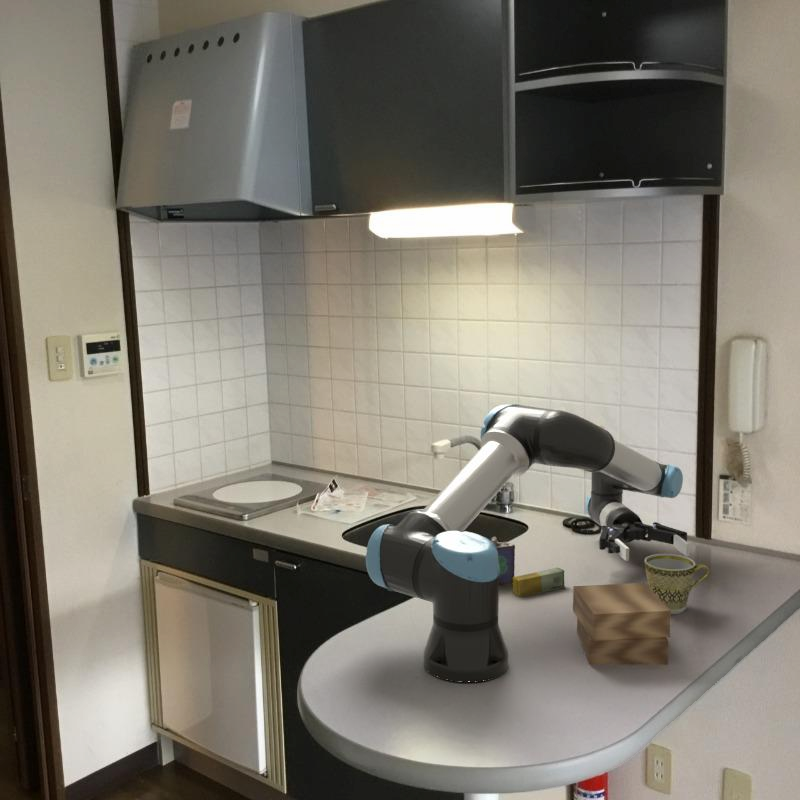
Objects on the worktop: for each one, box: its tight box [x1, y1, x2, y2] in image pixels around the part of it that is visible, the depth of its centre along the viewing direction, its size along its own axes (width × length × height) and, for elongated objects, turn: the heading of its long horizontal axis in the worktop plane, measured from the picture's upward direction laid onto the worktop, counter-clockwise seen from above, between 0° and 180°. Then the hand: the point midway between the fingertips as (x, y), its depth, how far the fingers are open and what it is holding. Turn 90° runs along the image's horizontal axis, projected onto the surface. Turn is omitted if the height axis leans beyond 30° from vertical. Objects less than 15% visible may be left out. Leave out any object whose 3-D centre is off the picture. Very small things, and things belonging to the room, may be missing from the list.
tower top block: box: [572, 582, 672, 641], centre depth 181 cm, size 14×14×5 cm
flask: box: [489, 536, 516, 586], centre depth 214 cm, size 9×3×11 cm, turn 109°
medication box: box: [512, 567, 566, 598], centre depth 211 cm, size 12×3×4 cm, turn 117°
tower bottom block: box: [576, 618, 669, 666], centre depth 181 cm, size 14×14×5 cm
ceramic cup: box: [644, 553, 710, 615], centre depth 199 cm, size 13×10×10 cm
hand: (658, 552), depth 208 cm, fingers open, 13 cm apart
